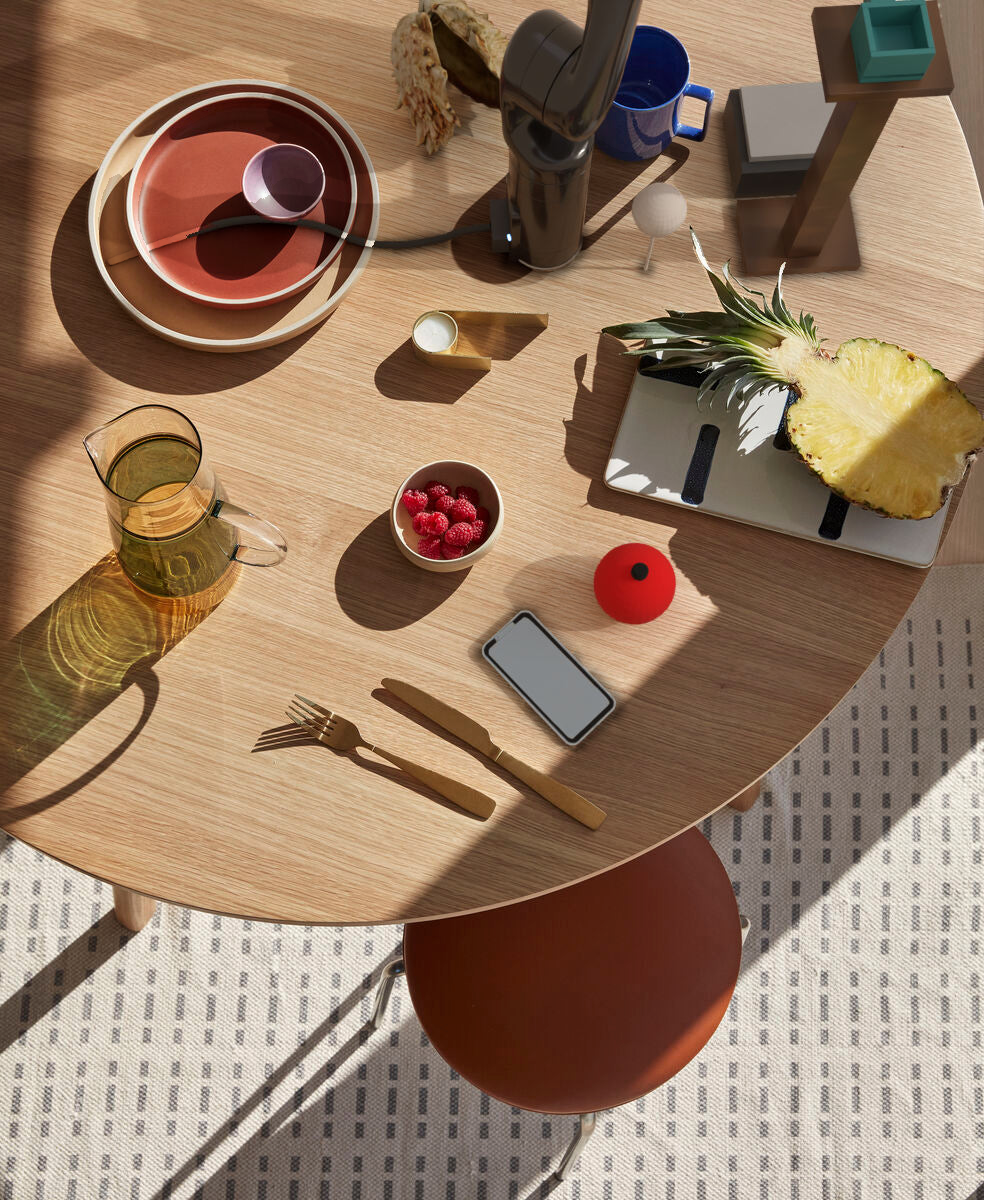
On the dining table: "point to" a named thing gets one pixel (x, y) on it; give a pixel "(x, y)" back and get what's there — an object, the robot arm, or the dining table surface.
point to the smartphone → (548, 677)
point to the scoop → (892, 40)
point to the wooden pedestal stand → (833, 157)
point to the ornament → (634, 583)
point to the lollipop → (658, 212)
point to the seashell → (445, 65)
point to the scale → (773, 136)
